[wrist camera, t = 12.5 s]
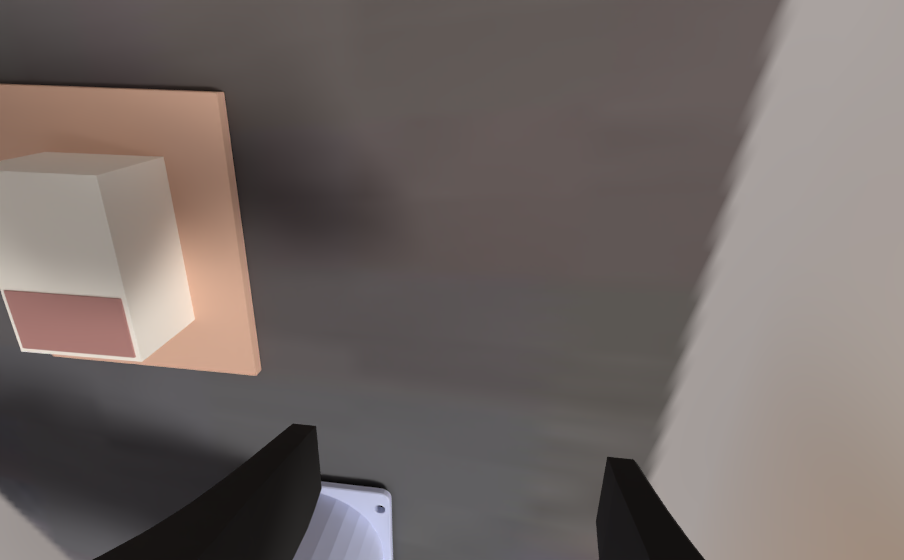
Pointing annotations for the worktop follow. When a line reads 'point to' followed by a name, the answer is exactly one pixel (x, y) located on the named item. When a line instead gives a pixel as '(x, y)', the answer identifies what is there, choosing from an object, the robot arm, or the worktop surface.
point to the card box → (91, 255)
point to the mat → (192, 191)
